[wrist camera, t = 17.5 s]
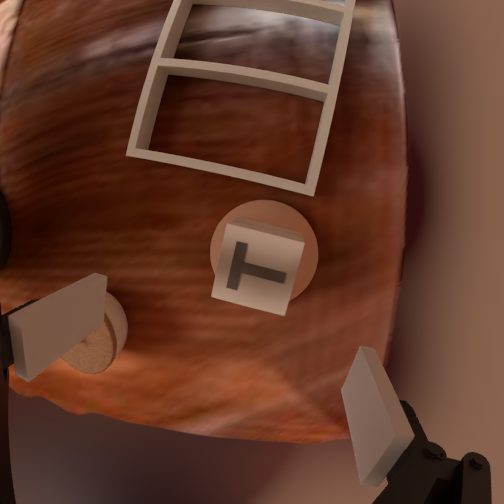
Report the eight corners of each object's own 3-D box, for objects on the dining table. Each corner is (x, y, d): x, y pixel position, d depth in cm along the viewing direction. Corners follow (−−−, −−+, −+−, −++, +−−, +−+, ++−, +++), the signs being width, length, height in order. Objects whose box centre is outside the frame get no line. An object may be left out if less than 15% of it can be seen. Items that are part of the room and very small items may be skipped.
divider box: (311, 196, 36) (313, 196, 32) (138, 157, 37) (125, 155, 33) (359, -34, 28) (363, -48, 25) (211, -54, 30) (205, -68, 26)
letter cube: (285, 292, 36) (284, 316, 29) (225, 277, 37) (210, 297, 30) (301, 232, 35) (304, 243, 28) (238, 216, 35) (226, 223, 28)
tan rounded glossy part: (301, 312, 38) (301, 317, 37) (204, 287, 39) (200, 291, 37) (329, 214, 36) (330, 215, 34) (225, 188, 36) (223, 188, 35)
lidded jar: (81, 265, 40) (38, 283, 31) (147, 295, 40) (112, 322, 31) (73, 329, 43) (36, 355, 34) (133, 359, 42) (102, 395, 33)
